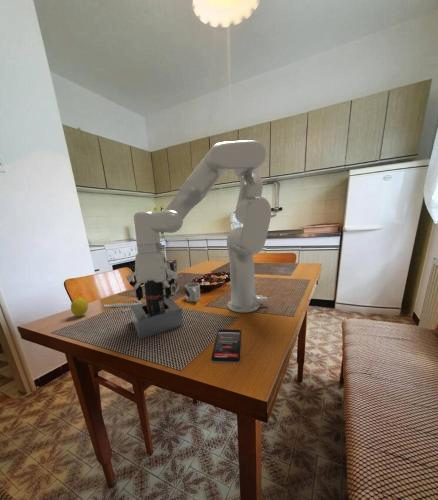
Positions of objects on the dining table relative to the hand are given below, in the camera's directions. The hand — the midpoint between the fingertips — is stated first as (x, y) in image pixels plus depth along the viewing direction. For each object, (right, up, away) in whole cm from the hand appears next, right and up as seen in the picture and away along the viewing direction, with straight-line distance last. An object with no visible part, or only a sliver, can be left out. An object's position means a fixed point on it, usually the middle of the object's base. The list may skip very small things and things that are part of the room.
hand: (154, 298), depth 70 cm
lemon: (-33, -10, +11) cm, 36 cm away
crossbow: (-20, -9, +19) cm, 29 cm away
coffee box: (-2, -5, +34) cm, 34 cm away
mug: (+11, -6, +21) cm, 25 cm away
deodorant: (+1, -8, +1) cm, 8 cm away
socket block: (+1, -9, +1) cm, 9 cm away
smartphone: (+25, -10, -13) cm, 30 cm away
